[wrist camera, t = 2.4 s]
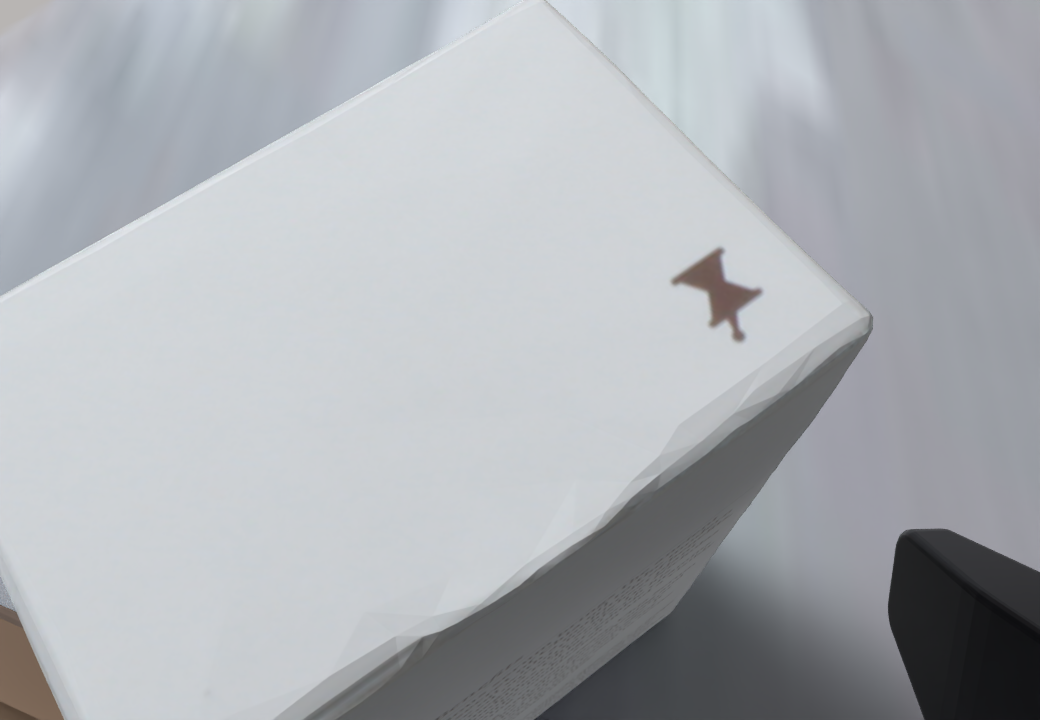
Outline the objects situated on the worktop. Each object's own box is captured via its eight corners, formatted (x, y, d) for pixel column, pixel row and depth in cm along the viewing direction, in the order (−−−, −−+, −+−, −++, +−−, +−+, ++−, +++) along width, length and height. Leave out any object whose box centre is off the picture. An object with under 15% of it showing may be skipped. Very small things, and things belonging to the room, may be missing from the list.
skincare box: (542, 439, 19) (554, -34, 8) (676, 612, 17) (916, 321, 6) (284, 618, 17) (-133, 338, 7) (406, 822, 16) (129, 902, 5)
